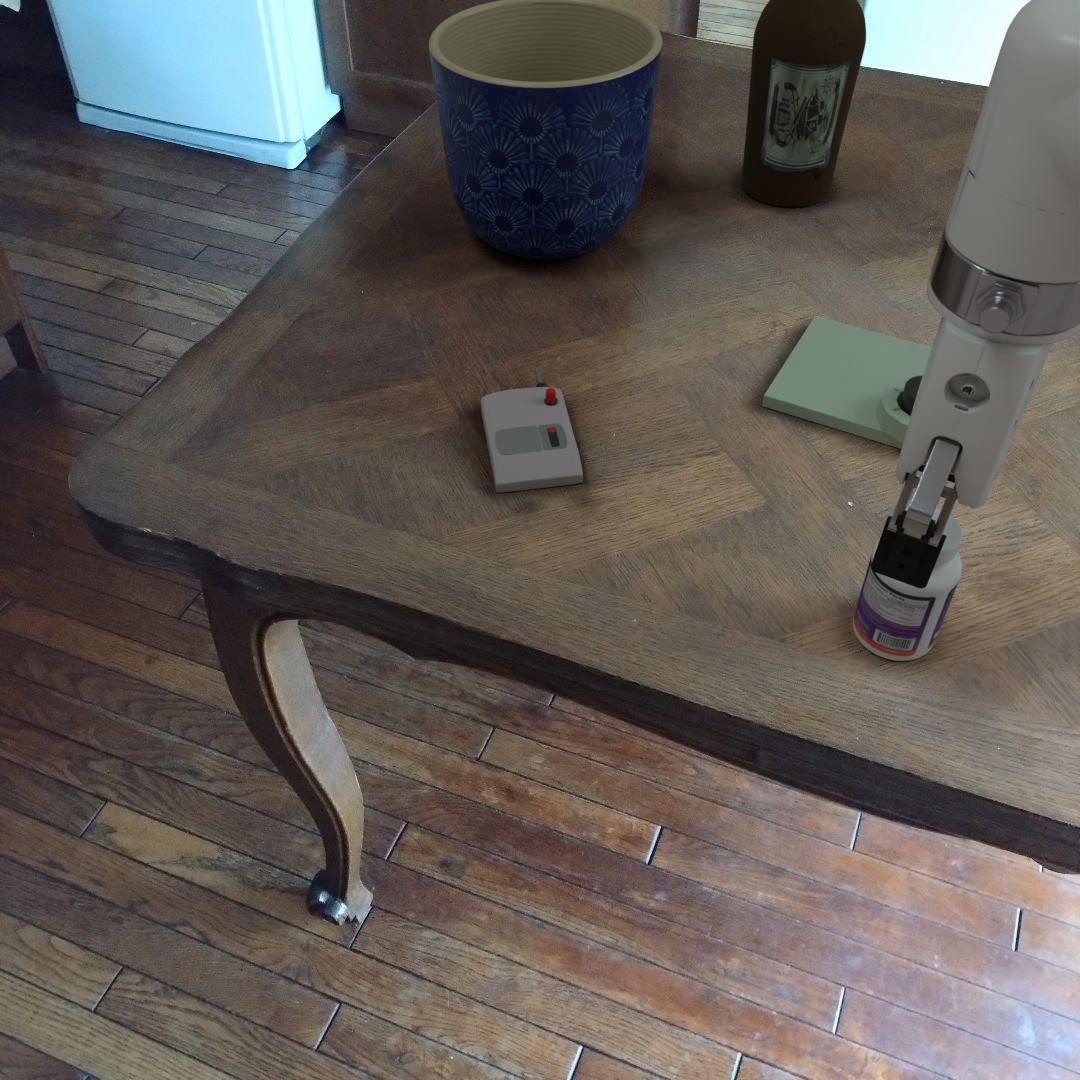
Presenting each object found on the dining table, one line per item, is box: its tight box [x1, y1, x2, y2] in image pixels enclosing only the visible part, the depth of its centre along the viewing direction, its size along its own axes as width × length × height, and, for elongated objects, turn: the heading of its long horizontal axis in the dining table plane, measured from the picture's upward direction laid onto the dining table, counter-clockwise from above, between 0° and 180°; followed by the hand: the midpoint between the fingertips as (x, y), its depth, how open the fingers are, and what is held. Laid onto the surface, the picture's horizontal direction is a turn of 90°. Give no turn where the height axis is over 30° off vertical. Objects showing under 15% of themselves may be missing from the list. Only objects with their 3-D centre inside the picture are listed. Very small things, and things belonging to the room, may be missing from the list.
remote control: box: [480, 365, 584, 508], centre depth 83 cm, size 7×16×3 cm, turn 9°
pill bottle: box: [852, 506, 963, 662], centre depth 67 cm, size 5×5×10 cm
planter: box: [428, 0, 664, 261], centre depth 100 cm, size 21×21×19 cm
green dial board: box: [761, 315, 932, 450], centre depth 87 cm, size 16×14×3 cm
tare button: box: [900, 375, 923, 416], centre depth 82 cm, size 4×4×2 cm
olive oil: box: [740, 0, 867, 208], centre depth 104 cm, size 11×11×25 cm
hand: (920, 523), depth 63 cm, fingers open, 9 cm apart
